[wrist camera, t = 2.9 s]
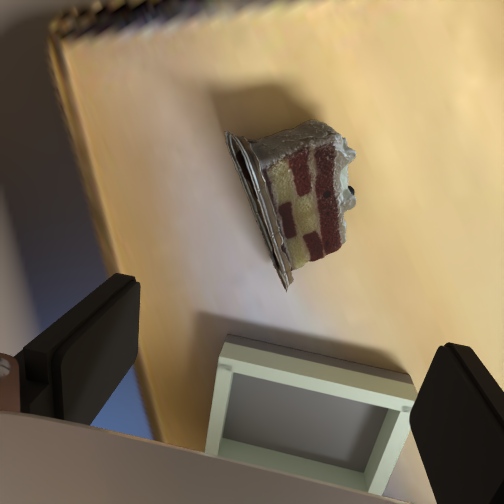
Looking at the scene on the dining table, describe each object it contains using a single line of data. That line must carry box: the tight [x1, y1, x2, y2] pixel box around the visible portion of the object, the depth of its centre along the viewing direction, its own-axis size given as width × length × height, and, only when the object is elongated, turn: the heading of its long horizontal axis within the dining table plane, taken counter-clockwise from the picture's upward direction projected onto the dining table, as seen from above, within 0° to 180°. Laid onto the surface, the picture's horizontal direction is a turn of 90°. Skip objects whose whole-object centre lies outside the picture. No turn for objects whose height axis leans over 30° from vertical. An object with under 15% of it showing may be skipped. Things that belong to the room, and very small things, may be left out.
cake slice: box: [225, 120, 356, 292], centre depth 24 cm, size 10×7×12 cm
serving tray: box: [205, 334, 418, 496], centre depth 31 cm, size 16×12×3 cm
